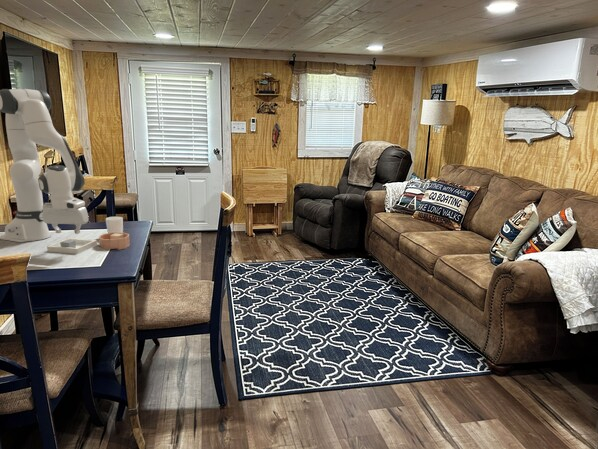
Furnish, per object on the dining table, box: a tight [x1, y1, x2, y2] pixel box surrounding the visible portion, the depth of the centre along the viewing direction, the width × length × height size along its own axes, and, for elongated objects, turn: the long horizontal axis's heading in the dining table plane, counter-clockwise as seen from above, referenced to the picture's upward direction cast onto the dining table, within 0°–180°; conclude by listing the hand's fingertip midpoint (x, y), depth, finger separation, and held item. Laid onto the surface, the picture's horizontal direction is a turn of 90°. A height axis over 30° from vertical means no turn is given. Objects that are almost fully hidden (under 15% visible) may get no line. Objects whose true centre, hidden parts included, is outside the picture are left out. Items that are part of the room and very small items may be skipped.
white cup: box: [105, 216, 124, 233], centre depth 225 cm, size 8×8×10 cm
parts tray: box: [46, 237, 98, 255], centre depth 205 cm, size 15×14×3 cm
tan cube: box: [110, 233, 124, 239], centre depth 214 cm, size 4×4×4 cm
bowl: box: [98, 232, 131, 251], centre depth 212 cm, size 13×13×5 cm
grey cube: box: [59, 239, 76, 248], centre depth 202 cm, size 4×4×4 cm
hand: (68, 233), depth 201 cm, fingers open, 8 cm apart
